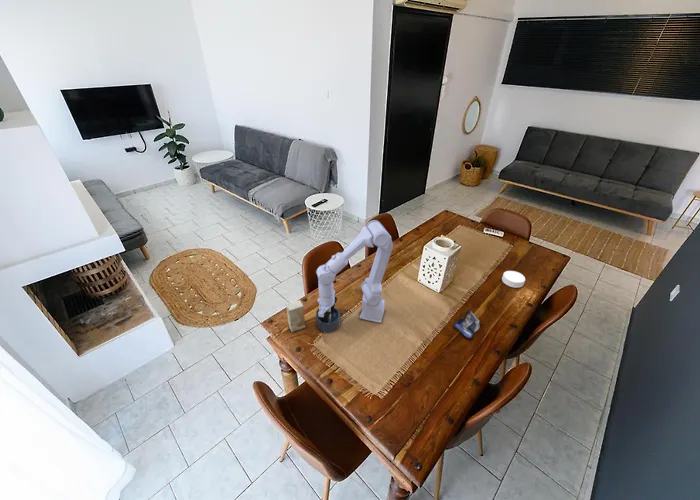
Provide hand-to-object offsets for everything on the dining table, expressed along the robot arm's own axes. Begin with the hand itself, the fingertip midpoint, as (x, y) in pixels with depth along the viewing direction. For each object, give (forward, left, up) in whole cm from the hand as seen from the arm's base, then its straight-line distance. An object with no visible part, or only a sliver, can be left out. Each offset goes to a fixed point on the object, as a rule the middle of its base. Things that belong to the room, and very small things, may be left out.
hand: (328, 317), depth 127 cm
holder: (0, 0, -3) cm, 3 cm away
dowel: (0, 0, -3) cm, 3 cm away
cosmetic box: (+12, +5, -4) cm, 14 cm away
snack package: (-57, -13, -4) cm, 59 cm away
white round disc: (-79, -51, -4) cm, 94 cm away
